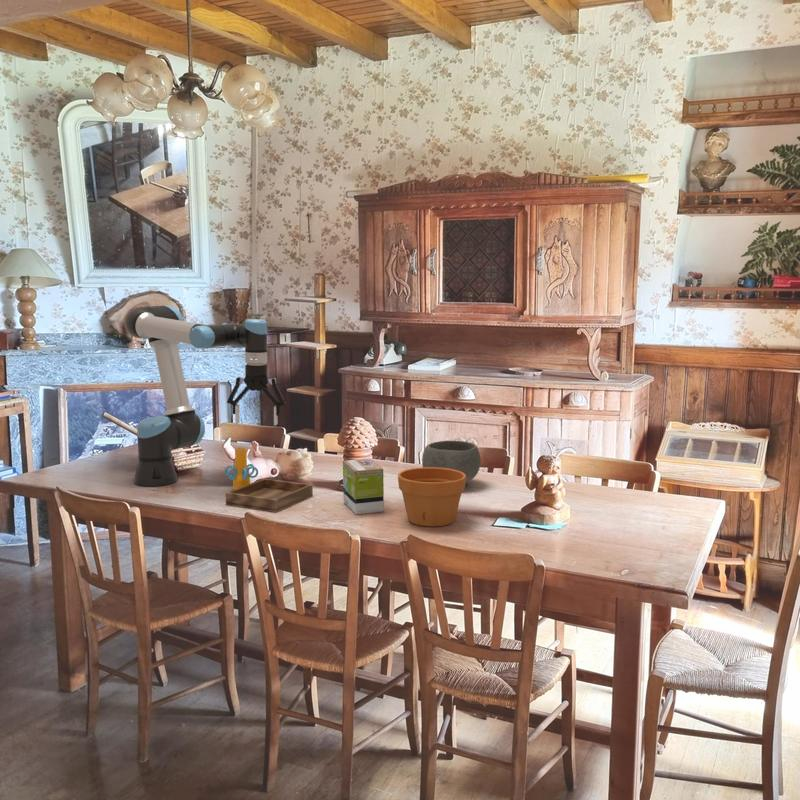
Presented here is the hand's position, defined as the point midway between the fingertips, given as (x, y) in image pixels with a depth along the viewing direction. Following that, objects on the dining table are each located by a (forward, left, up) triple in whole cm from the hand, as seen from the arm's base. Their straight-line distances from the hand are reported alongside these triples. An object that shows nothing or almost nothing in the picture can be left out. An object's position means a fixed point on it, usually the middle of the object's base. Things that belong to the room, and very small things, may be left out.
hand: (256, 424), depth 294 cm
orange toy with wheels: (-5, -3, -24) cm, 24 cm away
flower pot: (+70, -6, -24) cm, 74 cm away
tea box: (+44, -3, -24) cm, 50 cm away
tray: (+12, -10, -24) cm, 28 cm away
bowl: (+59, +36, -24) cm, 73 cm away
